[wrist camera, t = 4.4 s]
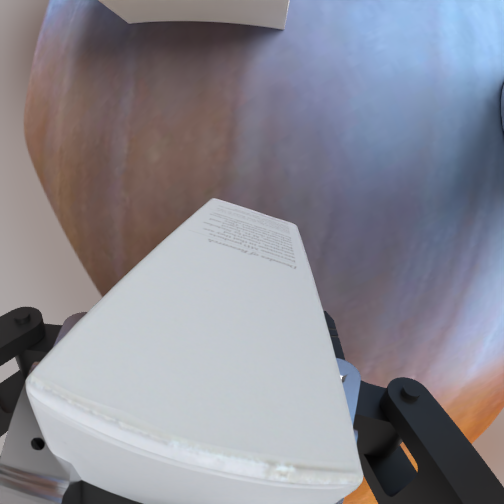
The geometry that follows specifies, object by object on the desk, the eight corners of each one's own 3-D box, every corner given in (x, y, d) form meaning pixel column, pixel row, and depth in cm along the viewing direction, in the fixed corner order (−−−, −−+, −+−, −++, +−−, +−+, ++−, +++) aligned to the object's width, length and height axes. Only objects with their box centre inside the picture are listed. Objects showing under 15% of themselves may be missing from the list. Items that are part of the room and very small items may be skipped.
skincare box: (261, 328, 16) (237, 562, 4) (183, 303, 15) (78, 514, 4) (302, 220, 14) (379, 486, 2) (212, 192, 13) (3, 373, 2)
